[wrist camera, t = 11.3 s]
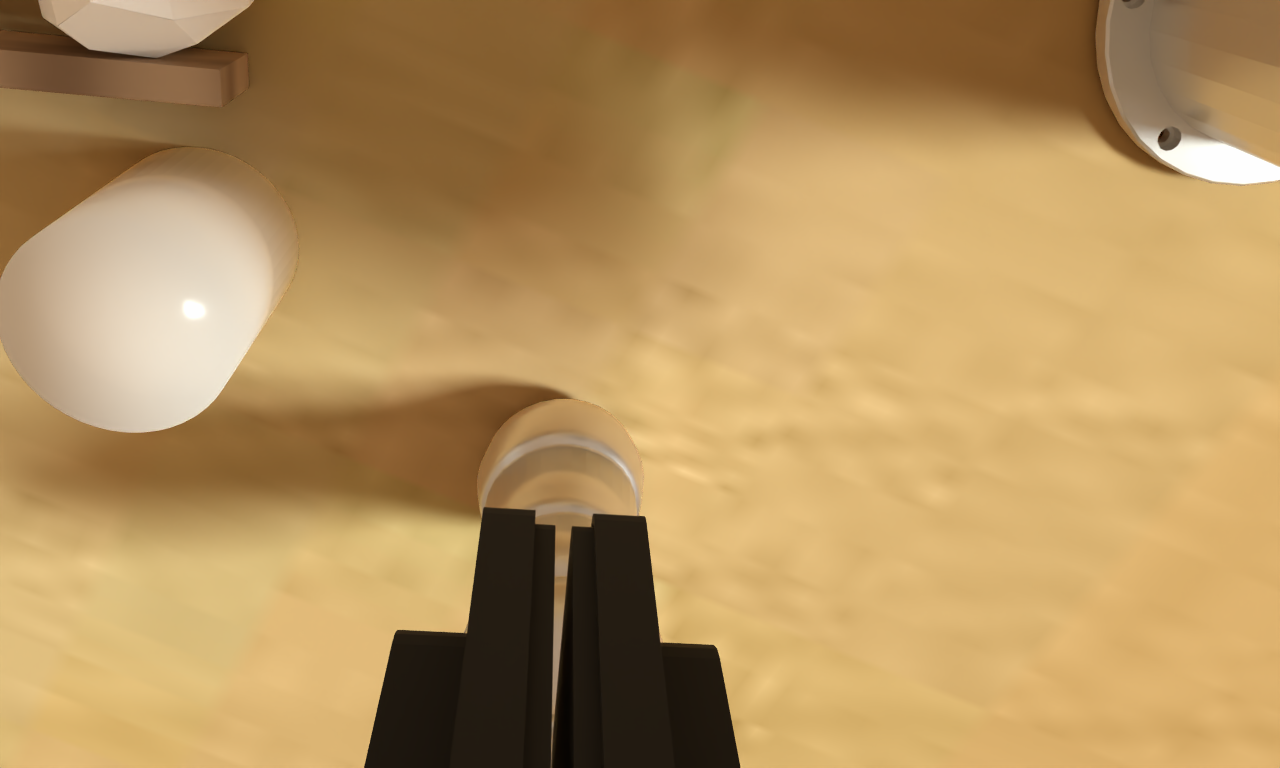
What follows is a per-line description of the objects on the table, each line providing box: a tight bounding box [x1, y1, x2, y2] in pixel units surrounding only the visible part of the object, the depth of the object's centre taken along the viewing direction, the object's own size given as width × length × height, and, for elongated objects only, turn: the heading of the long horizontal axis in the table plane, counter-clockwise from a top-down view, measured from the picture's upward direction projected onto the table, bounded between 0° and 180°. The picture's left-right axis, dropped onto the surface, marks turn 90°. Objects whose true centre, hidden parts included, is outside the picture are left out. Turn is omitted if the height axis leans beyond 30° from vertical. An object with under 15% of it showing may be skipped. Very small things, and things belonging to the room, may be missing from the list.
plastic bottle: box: [464, 399, 663, 759], centre depth 38 cm, size 6×7×20 cm
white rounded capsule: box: [0, 147, 299, 433], centre depth 39 cm, size 7×7×9 cm
